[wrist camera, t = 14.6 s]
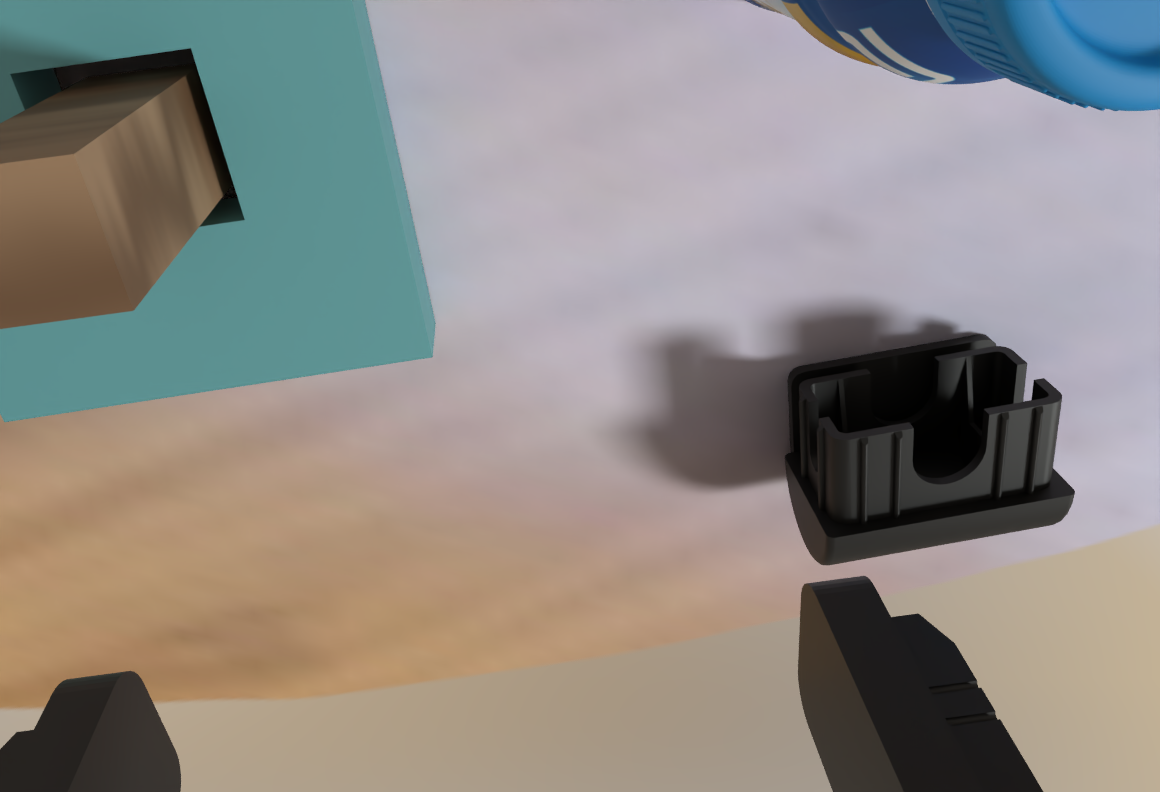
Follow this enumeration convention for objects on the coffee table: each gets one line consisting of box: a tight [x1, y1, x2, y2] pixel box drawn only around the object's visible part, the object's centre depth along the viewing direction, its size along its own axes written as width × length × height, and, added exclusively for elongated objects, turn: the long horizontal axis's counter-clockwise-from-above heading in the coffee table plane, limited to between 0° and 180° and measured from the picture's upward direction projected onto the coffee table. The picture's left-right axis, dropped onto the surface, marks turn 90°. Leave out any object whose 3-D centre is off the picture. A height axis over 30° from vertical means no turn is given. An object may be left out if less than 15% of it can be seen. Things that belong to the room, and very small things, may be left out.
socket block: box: [0, 0, 436, 422], centre depth 31 cm, size 18×16×3 cm
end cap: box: [785, 335, 1075, 565], centre depth 39 cm, size 10×7×7 cm
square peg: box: [0, 63, 233, 329], centre depth 28 cm, size 4×4×12 cm
